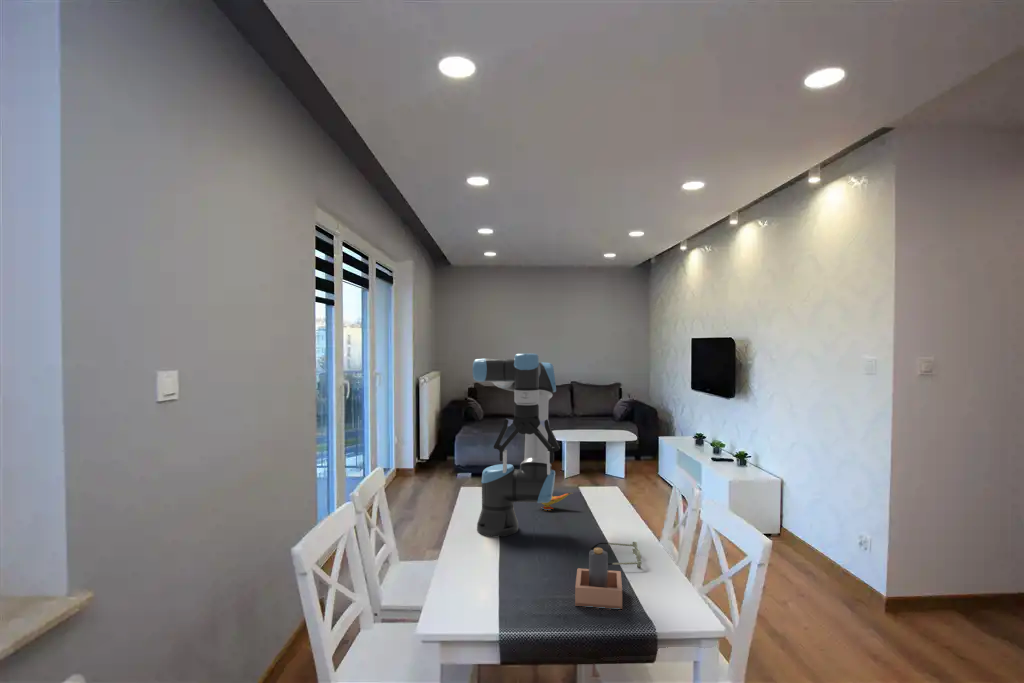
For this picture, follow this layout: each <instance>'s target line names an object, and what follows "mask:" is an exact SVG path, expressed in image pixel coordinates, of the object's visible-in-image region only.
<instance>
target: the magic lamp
mask: <svg viewBox="0 0 1024 683" xmlns="http://www.w3.org/2000/svg"><path fill="white" fill-rule="evenodd" d="M573 494H574V492H566V493H563V494H562V495H559V496H555V495H554V496H553V495H552V499H551V501H550V502H548V503H541V504H542V505H544V506H542V507H543V508H544V509H553V510H554V507H552V506H551V505H554V504H557V503H559V502H561V501H562V500H564V499H565V498H566V497H568V496H569V495H573Z"/></svg>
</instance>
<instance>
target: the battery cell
mask: <svg viewBox="0 0 1024 683" xmlns="http://www.w3.org/2000/svg"><path fill="white" fill-rule="evenodd" d="M608 553H609V552H608V551H606V550H604V549H603V548H602V547H595V548H594V549H593V550H589V551H588V569H589V586H591V587H604V588H608V570H609V567H608V566H609V565H608V563H609V562H608V561H609V560H608V559H609V556H608V555H609V554H608Z"/></svg>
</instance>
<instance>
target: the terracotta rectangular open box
mask: <svg viewBox="0 0 1024 683" xmlns="http://www.w3.org/2000/svg"><path fill="white" fill-rule="evenodd" d="M621 572H622V571H621V570H609V569H608V588H604V587H591V586H589V568H579V567H578V568H577V570H576V578H575V587H574V588H575V590H574V592H575V593H574V595H575V596H574V597H575V599H574V602H575V604H574V606H593V607H605V608H620V609H622V610H623V585H622V584H623V583H622V573H621Z"/></svg>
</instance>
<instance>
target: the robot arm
mask: <svg viewBox="0 0 1024 683" xmlns="http://www.w3.org/2000/svg"><path fill="white" fill-rule="evenodd" d="M472 378H473V380H474V381H475V382H480V383H484V382H485V383H486V382H487V383H488V382H489V383H492V384H493V385H494V386H495V387H497V388H499V389H502V390H506V391H508V392H509V391H510V392H513V393H514V396H513V397H514V403H515V404H514V413H513V414H514V418H513V419H511V418H510V419H509V418H505V419H504V420H503V426H502V429H501V431H500V432H499V434H498V436H497V439H496V441H495V443H494V444H493V449H495V450H497V451H499V462H502V463H501V464H494V465H491V466H487V467H486V468H484V469H483V471H482V474H481V481H480V484H481V510H480V513H479V517H478V520H477V524H476V531H477V533H478V534H480V533H481V535H483V536H486V535H487V537H493V536H501V537H508V536H511V535H514V534H516V533H518V531H519V521H518V518H517V516H516V512H515V508H514V503H534V504H536V503H537V504H542V503H548V502H550V501H551V499H552V496H553V494H554V489H555V481H556V470H554V469H552V464H553V463H554V461H555V452H558V451H560V448H561V446H560V445H559V442H558V440H557V438H556V436H555V434H554V432H553V431H552V428H551V426H550V420H549V402H550V399H552V397H553V396H554V395H553V394H554V393H556V392H557V387H556V386H557V385H556V377H555V369H554V364H552V363H551V362H543V361H540V360H539V354H538V353H529V352H528V353H526V352H525V353H516V354H515V355H514V358H485V357H484V358H476V359H474V360H473V362H472ZM511 425H513V426H514V428H515V429H514V430H513V432H512V433H511V434H510V435H509V437H508V438H507V439H506V440H505V441H504V442H503V444H501V442H502V440H503V438H504V436H505V435H506V432H507V431H508V428H509V427H511ZM518 433H519V434H521V435H525V436H524V437H525V438H524V457H523V458H524V460H523V461H521V463H520V465H519V469H515V467H514V465H513V464H511V463H508V450H507V449H505V448H506V447H508V445H509V444H510V443H511V441H512V440H513V439H514V438H515V437H516V436H517V435H518ZM548 439H549V440H550V442H551V443H552V444H551V443H550V442H549V440H548Z"/></svg>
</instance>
